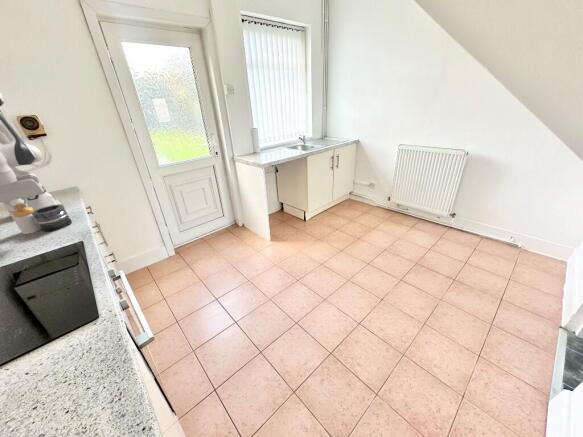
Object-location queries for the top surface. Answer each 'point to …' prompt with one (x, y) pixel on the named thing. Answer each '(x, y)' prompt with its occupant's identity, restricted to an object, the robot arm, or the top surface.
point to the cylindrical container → (23, 219)
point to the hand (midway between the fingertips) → (21, 208)
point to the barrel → (52, 217)
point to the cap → (22, 210)
